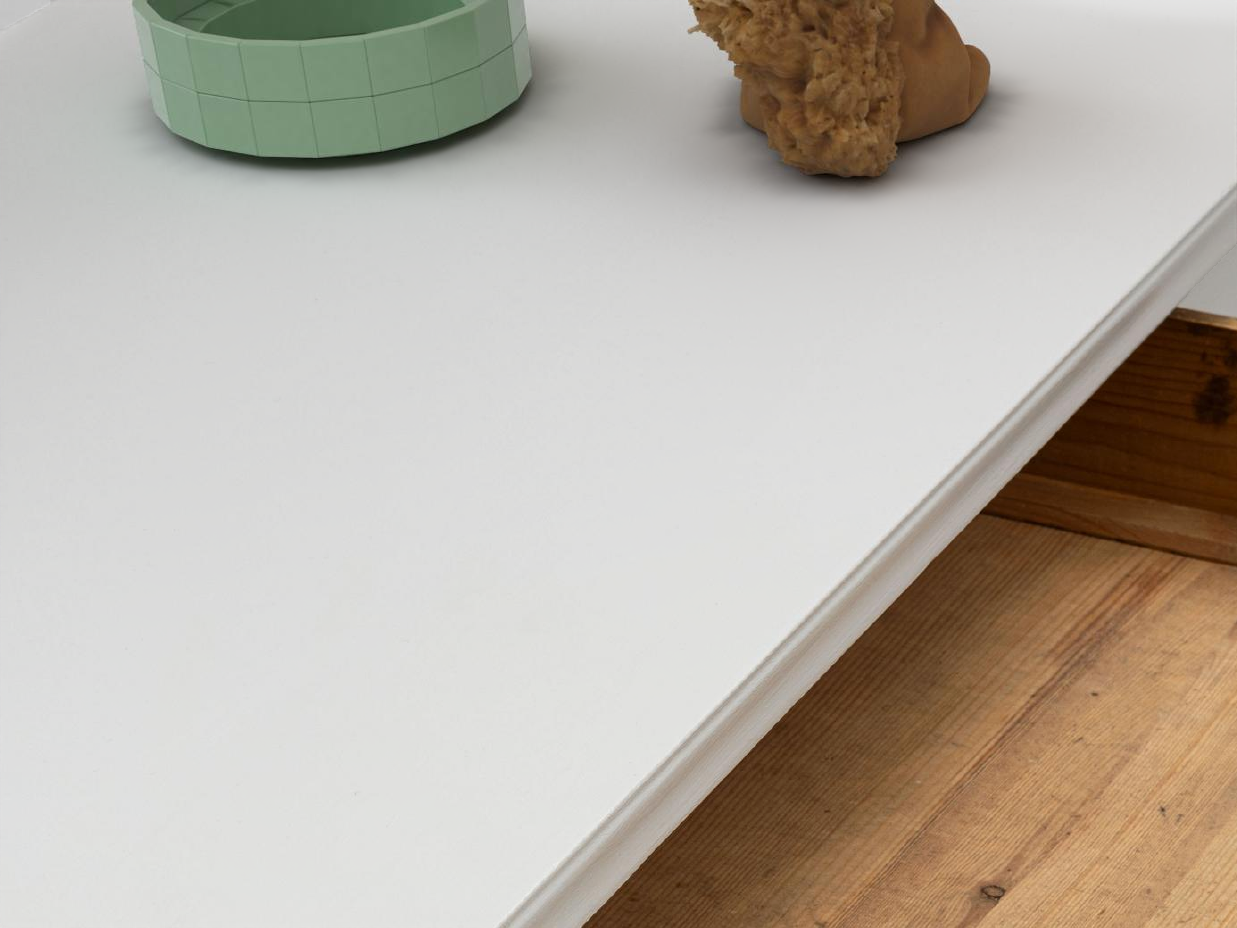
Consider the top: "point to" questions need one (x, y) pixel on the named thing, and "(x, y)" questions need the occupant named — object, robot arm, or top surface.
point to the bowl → (330, 71)
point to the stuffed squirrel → (845, 76)
